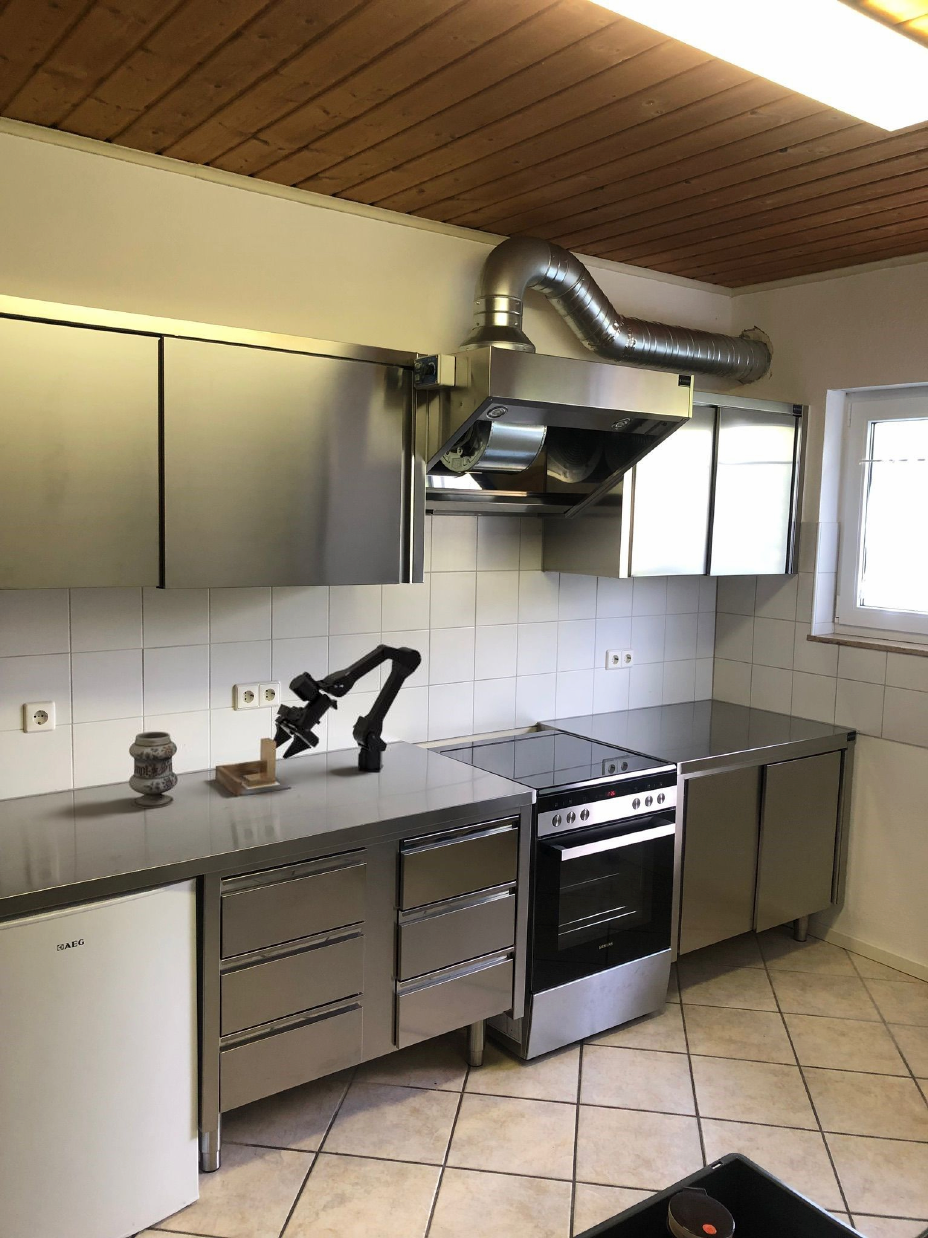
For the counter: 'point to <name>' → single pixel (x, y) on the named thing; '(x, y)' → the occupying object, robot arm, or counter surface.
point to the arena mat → (263, 787)
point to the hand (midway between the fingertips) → (276, 754)
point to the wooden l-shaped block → (264, 765)
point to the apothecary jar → (153, 769)
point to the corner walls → (236, 774)
